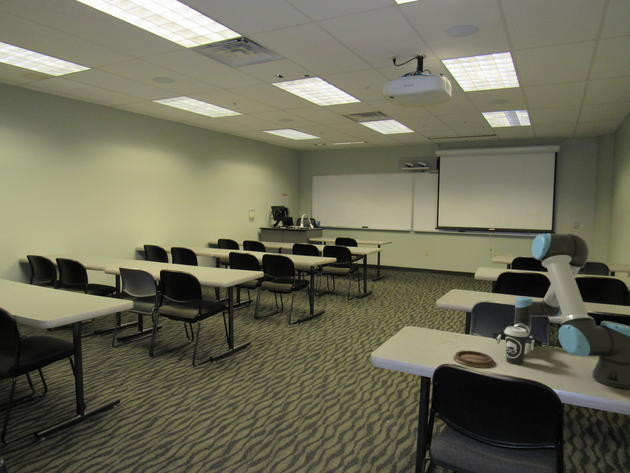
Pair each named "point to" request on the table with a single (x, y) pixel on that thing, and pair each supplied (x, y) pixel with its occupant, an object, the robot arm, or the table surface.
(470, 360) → the coaster
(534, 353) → the table surface
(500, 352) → the table surface
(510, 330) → the coffee cup
